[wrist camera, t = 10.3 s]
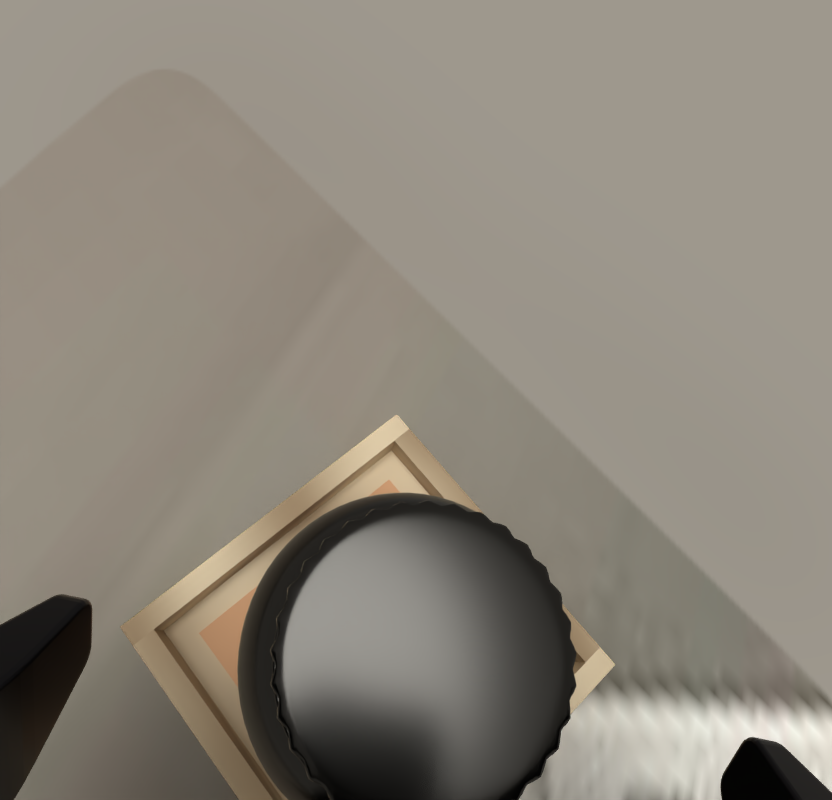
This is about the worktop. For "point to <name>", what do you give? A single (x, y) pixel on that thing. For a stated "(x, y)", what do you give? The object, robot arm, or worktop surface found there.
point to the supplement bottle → (405, 657)
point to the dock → (236, 584)
